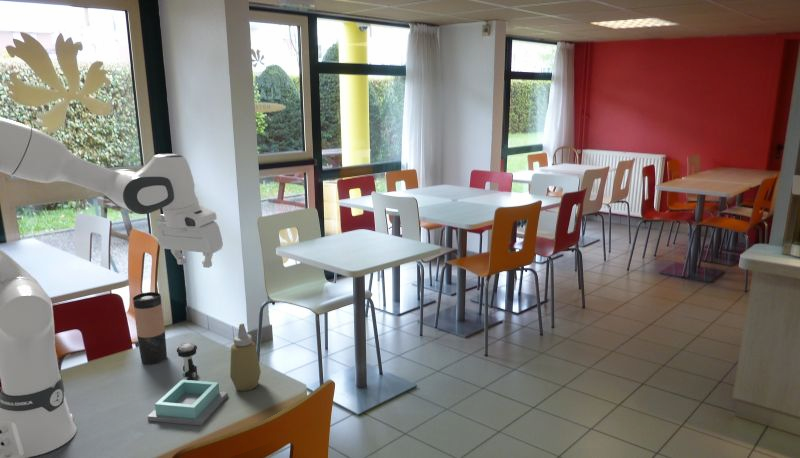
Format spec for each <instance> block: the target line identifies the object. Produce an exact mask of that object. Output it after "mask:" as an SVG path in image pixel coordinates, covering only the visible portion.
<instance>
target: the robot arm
mask: <svg viewBox="0 0 800 458" xmlns="http://www.w3.org/2000/svg"><path fill="white" fill-rule="evenodd" d="M0 173H3V174H6V175H8V176H12V177H15V178H18V179H23V180H27V181H31V182H35V183H43V184H49V183H55V182H65V183H70V184H72V185H76V186H79V187H82V188H86V189H88V190H90V191H91V190H92V191H94V192H97V193H99V194H100V195H103V197H105V198H106V199H108V201H109V202H111V203H112V204H113V205H114V206H116V207H118V208H121V209H125V210H127V211H129V212H131V213H134V214H136V215H147V214H152V213H154V212H156V211H158V210H162V213H163V214H162V213H159V214H158V216H157V217H156V219H155V222H156V225H155V226H156V227H155V229H156V237H157V243H158V245H159V246H160V248H161V249H163V250H165V249H166V250H170V253H171V254H172V256H174V258H175V259H176V263H177V265H185V264H187V259H186V256H184V255H183V254H182V251H184V252H185V251H186V252H194V253H202V256H203V257H204V259H203V261H201V263H202V264H201V265H202V267H203V268H206V269H209V268H211V267H213V261H212V260H213V259H212V258H213V256H214V255H213V254H215V253H217V252H219V251H220V250H221V249H222V248H223V245H224V243H223V237H222V233H221V229H220V227H219V225H218V223H217V222H215V221H216V220H217V219H218V217H217V214H216V212H215V211H213V210H212V209H211V210H210V209H208V208H207V207H205V206H203V205H201V204H200V203H199V202H200V201H199V199H198V197H197V196H196V193H195V185H196V184H195V181H194V177H193V173H192V171H191V167H190V165H189V162H188V160H187V158H186V157H184V156H183V155H181V154H177V153H158V154H154V155H153V156H152V157H151V160H149V161H148V162H147V164H144V166H143V167H142V168H140V169H139V170H137V171H136V170H134V169H126V168H124V169H120V168H119V169H112V168H108V167H105V166H101V165H99V164H97V163H93V162H91V161H89V160H86V159H83V158H81V157H80V156H77V155H75V154H73V153H72V152H71V151H70V150H69V149H68V147H67V146H66V145H65V144H64V143H63V142H62V141H60V140H59V139H57V138H55V137H54V136H52V135H49V134H47V133H46V132H43V131H41V130H40V129H37V128H34V127H31V126H29V125H26V124H23V123H22V122H21V123H20V122H18V121H14V120H11V119H7V118H4V117H1V116H0ZM221 251H222V250H221ZM54 319H55V318H54V307H53V302H52V299H51V298H50V296H49V295H48V293H47V292H46V290H45V289H44V288H43V287H42V285H41V284H40V283H39V282H38V281H37V279H36V278H35V277H33V276H32V275H31V274H30V273H29V272H28V271H27V270H26V269H25V268H24V267H22V266H21V265H20V264H19V263H18V262H17V261H15V259H13V258H12V257H11V256H10V255H9V254H7V253H6V252H5V251H4V250H3V249H2V248H0V383H1V387H0V458H32V457H36V456H39V455H40V456H41V455H43V454H46V453H49V452H52V451H54V450H56V449H58V448H60V447H62V446H63V445H65V444H67V443H68V442H69V441H70V440H72V439H73V437H74V436H75V435H76V433H77V431H78V430H77V425H75V422H74V417H73V414H72V413H71V412H70V409H69V406H68V402H67V399H66V396H65V386H64V379H63V377H62V374H60V369H59V364H58V356H57V351H56V343H55V339H56V336H55V333H56V332H55V320H54Z"/></svg>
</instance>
